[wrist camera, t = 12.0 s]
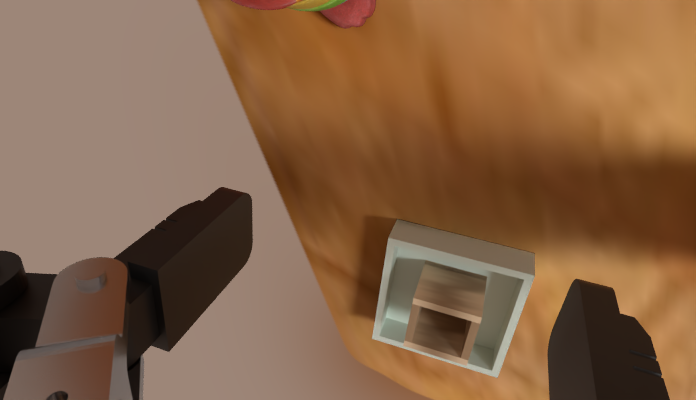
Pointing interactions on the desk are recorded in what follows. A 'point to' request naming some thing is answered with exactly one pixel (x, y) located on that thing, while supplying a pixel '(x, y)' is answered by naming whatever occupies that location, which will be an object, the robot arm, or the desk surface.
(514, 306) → the green crate
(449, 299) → the oak crate
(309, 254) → the desk surface
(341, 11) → the stacking bear
